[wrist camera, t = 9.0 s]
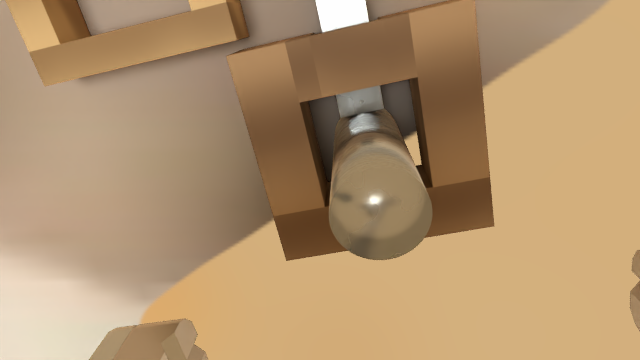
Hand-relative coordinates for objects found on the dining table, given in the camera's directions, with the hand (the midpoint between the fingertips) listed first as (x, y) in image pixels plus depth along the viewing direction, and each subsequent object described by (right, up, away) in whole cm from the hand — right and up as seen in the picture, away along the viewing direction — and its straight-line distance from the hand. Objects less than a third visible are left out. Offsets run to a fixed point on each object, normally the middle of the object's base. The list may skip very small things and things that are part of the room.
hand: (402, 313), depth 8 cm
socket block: (+1, +5, +13) cm, 14 cm away
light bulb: (+1, +5, +14) cm, 14 cm away
